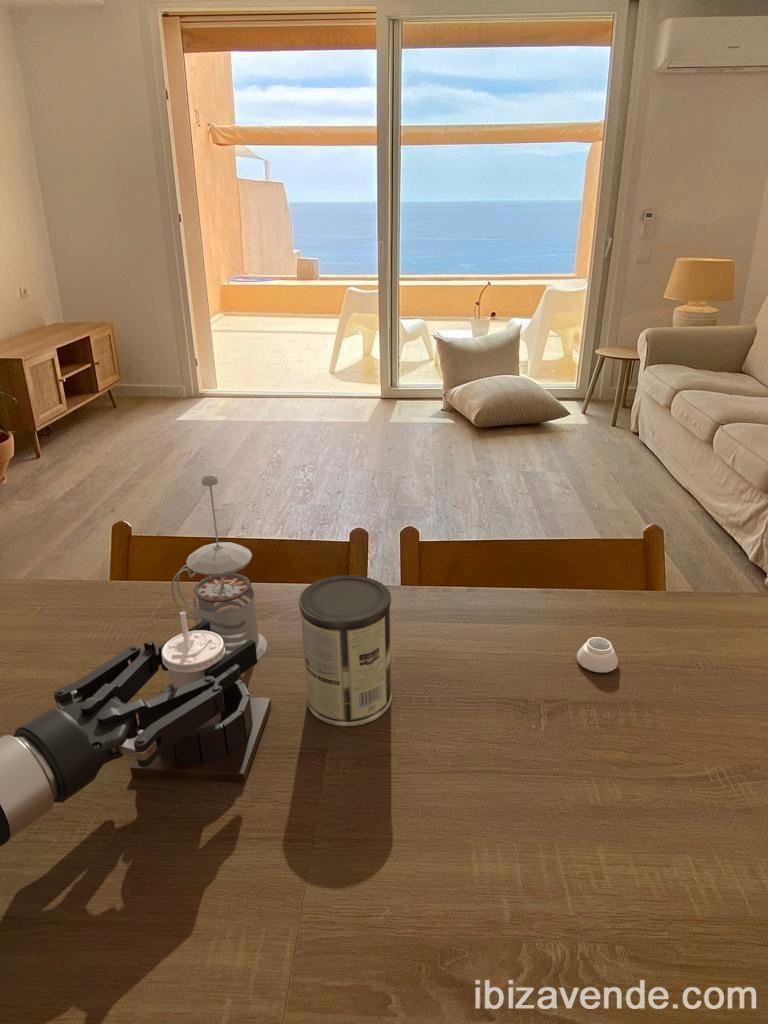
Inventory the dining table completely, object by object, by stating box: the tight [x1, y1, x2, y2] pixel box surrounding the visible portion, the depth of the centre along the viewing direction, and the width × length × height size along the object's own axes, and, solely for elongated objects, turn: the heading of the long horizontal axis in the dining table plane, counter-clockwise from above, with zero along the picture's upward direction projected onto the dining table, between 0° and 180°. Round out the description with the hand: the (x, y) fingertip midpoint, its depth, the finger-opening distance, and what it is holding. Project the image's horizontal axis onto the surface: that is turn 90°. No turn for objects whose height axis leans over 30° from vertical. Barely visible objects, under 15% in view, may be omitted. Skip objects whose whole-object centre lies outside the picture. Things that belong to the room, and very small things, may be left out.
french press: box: [170, 473, 268, 662], centre depth 88 cm, size 10×12×25 cm
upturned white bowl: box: [576, 636, 619, 673], centre depth 89 cm, size 5×3×5 cm
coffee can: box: [298, 574, 393, 727], centre depth 80 cm, size 10×10×14 cm
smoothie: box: [162, 611, 225, 730], centre depth 73 cm, size 6×6×14 cm
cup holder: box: [130, 679, 272, 783], centre depth 76 cm, size 12×12×5 cm
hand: (230, 641), depth 77 cm, fingers closed on smoothie, 6 cm apart
